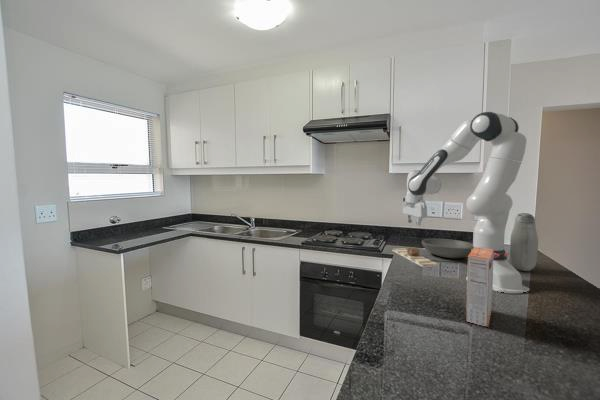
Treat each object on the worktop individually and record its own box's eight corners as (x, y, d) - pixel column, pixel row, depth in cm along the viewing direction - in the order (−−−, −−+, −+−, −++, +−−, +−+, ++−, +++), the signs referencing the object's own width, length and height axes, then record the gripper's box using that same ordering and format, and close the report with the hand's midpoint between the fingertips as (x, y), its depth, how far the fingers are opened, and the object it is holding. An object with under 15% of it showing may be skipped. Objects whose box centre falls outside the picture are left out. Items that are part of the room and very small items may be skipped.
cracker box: (470, 306, 93) (473, 246, 92) (492, 311, 89) (495, 249, 88) (464, 322, 82) (466, 254, 81) (488, 329, 78) (491, 258, 77)
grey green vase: (540, 274, 125) (543, 214, 124) (514, 272, 129) (516, 213, 127) (530, 268, 135) (533, 212, 133) (505, 266, 138) (508, 211, 136)
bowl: (474, 267, 137) (475, 250, 136) (416, 257, 154) (416, 243, 153) (478, 255, 159) (479, 241, 158) (427, 248, 175) (427, 236, 175)
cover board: (437, 265, 138) (437, 255, 137) (422, 266, 137) (423, 256, 137) (405, 249, 170) (405, 242, 170) (392, 250, 170) (393, 242, 169)
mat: (439, 266, 137) (439, 265, 137) (421, 267, 136) (421, 266, 136) (406, 250, 171) (406, 249, 171) (391, 250, 170) (391, 249, 170)
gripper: (430, 200, 142) (429, 226, 143) (410, 198, 162) (409, 221, 163) (419, 200, 141) (418, 227, 142) (400, 198, 161) (400, 221, 162)
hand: (413, 223), depth 153 cm, fingers open, 8 cm apart
